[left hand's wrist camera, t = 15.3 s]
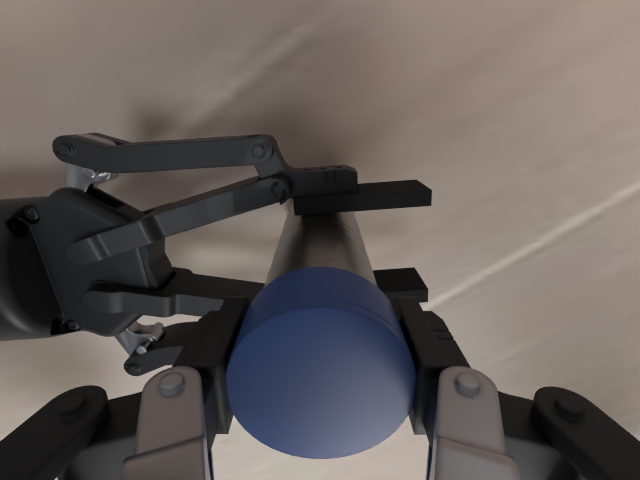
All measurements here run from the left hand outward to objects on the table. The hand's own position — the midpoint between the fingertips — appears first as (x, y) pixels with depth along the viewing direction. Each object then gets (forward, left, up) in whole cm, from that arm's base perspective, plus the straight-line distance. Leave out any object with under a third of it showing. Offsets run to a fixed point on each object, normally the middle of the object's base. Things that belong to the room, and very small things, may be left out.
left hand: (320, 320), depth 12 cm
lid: (0, 0, +3) cm, 3 cm away
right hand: (-5, +1, -7) cm, 9 cm away
